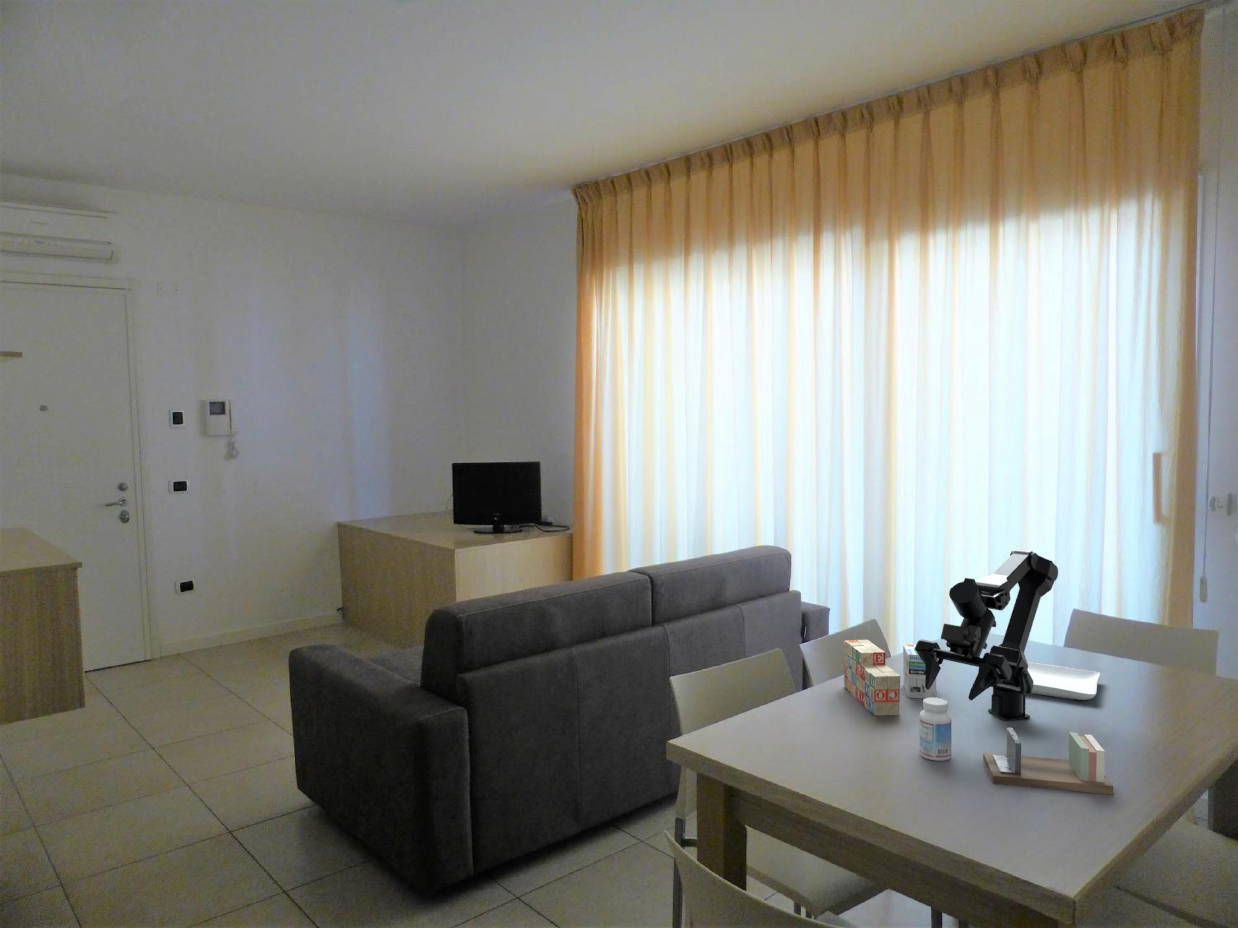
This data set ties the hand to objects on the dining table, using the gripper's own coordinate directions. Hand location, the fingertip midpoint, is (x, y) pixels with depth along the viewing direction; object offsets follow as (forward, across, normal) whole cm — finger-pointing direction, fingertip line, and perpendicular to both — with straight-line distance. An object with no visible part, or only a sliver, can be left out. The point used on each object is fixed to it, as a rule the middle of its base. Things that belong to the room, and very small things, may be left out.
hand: (947, 693), depth 172 cm
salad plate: (-32, -2, +49) cm, 59 cm away
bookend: (+9, +13, +5) cm, 17 cm away
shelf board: (+8, +19, +9) cm, 22 cm away
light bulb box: (-13, -22, +29) cm, 39 cm away
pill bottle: (+12, 0, +5) cm, 13 cm away
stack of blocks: (-3, -27, +19) cm, 33 cm away
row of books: (+4, +25, +10) cm, 27 cm away
